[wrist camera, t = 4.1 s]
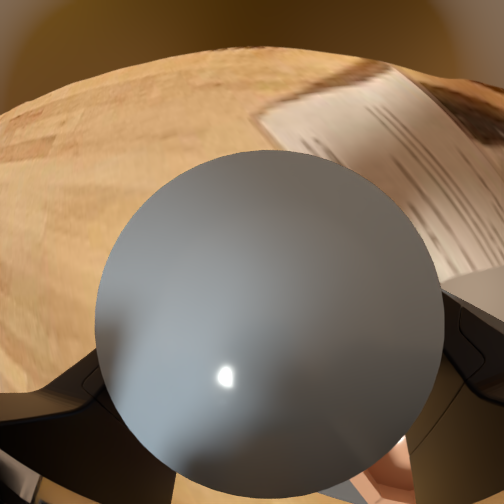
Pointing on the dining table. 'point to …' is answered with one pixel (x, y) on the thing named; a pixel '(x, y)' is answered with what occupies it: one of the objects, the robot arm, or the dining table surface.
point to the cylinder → (269, 324)
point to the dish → (388, 478)
